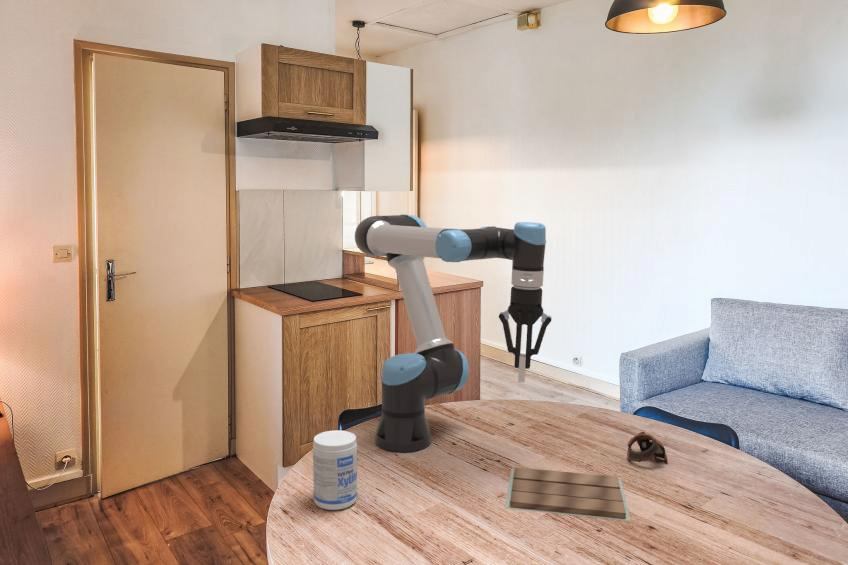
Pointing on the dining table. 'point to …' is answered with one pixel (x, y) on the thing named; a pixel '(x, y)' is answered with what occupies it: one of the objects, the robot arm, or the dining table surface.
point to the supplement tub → (335, 469)
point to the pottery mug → (646, 448)
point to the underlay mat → (566, 512)
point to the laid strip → (568, 504)
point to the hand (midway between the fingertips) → (521, 380)
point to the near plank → (567, 490)
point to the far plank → (566, 478)
